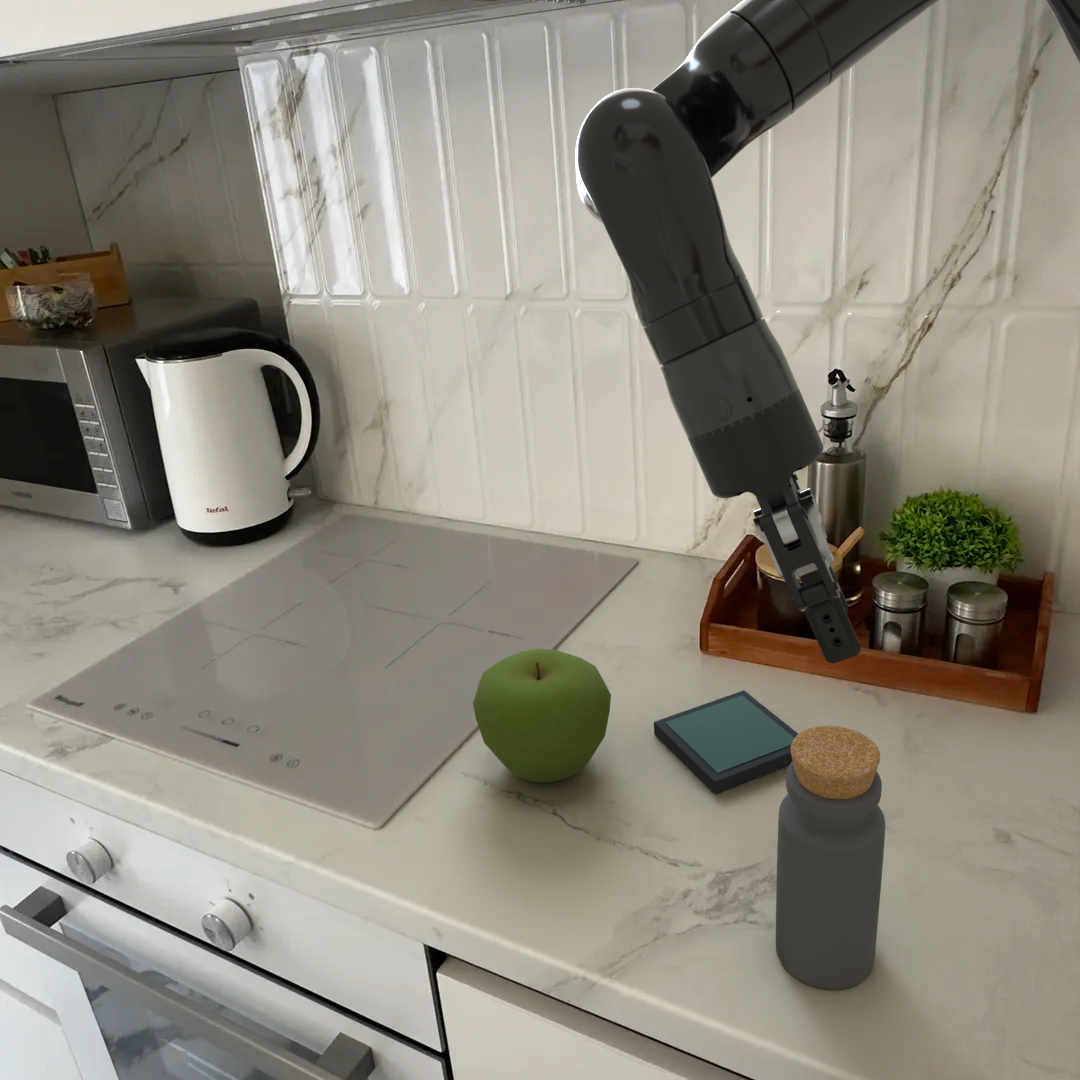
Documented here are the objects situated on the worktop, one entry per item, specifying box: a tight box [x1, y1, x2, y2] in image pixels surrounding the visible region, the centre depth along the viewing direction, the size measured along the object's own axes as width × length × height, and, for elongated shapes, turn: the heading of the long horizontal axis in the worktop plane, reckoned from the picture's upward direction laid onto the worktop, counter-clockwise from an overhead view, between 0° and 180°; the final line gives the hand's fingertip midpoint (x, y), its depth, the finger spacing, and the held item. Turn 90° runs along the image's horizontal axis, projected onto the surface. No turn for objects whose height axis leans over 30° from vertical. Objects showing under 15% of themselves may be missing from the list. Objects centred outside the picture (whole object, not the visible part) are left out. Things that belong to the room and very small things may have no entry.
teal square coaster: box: [653, 690, 799, 795], centre depth 79 cm, size 9×9×1 cm
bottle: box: [775, 725, 886, 991], centre depth 56 cm, size 6×6×15 cm
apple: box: [472, 648, 612, 784], centre depth 76 cm, size 11×10×10 cm
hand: (839, 635), depth 64 cm, fingers open, 8 cm apart
